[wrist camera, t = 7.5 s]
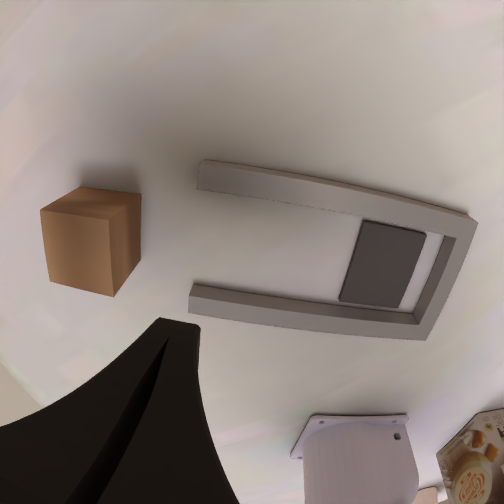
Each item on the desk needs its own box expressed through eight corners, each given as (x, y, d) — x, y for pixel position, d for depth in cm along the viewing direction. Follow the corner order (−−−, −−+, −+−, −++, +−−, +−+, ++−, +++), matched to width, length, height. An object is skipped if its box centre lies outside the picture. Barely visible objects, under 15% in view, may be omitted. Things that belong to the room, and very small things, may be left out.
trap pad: (424, 233, 16) (426, 235, 16) (396, 305, 18) (397, 308, 18) (362, 219, 16) (364, 221, 16) (338, 298, 18) (339, 301, 18)
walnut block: (141, 193, 16) (109, 220, 12) (141, 259, 18) (113, 297, 14) (80, 186, 16) (40, 209, 12) (83, 248, 18) (50, 281, 14)
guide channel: (467, 215, 15) (478, 222, 14) (419, 329, 19) (425, 340, 18) (204, 159, 15) (199, 164, 14) (192, 300, 19) (188, 312, 18)
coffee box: (475, 412, 24) (518, 529, 10) (507, 406, 24) (550, 507, 10) (433, 455, 28) (458, 558, 14) (467, 448, 28) (495, 540, 14)
